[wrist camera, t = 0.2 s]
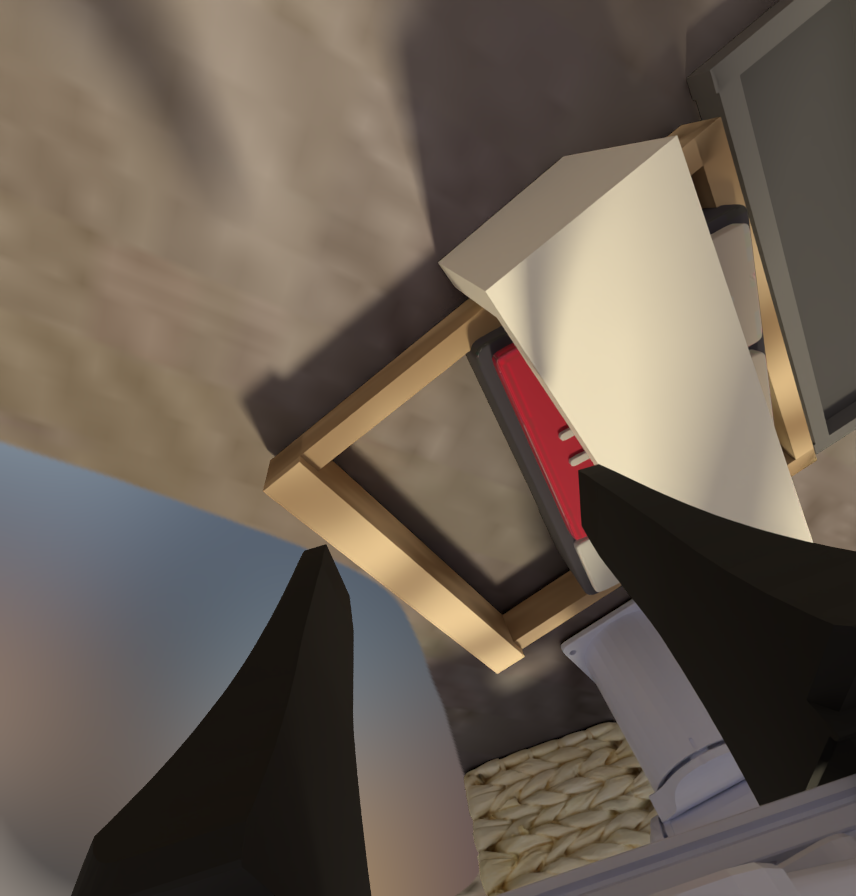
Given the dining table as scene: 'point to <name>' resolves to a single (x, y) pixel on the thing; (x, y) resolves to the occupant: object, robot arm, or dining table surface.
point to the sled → (310, 456)
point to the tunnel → (695, 276)
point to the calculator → (548, 435)
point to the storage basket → (557, 807)
